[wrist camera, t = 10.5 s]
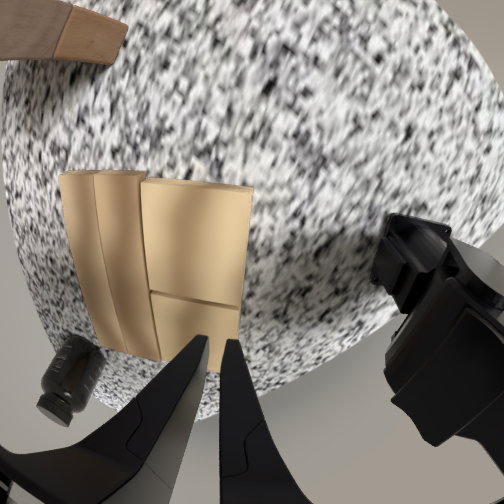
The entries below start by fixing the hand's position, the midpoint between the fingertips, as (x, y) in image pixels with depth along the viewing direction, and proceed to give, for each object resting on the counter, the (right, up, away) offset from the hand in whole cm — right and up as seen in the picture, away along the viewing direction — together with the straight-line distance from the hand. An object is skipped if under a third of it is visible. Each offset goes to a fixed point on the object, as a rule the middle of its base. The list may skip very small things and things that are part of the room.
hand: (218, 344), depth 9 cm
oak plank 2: (-4, -5, +18) cm, 19 cm away
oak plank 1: (-3, +4, +13) cm, 14 cm away
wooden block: (-13, +21, +5) cm, 25 cm away
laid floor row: (-12, +1, +15) cm, 20 cm away
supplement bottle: (-22, -11, +23) cm, 34 cm away
